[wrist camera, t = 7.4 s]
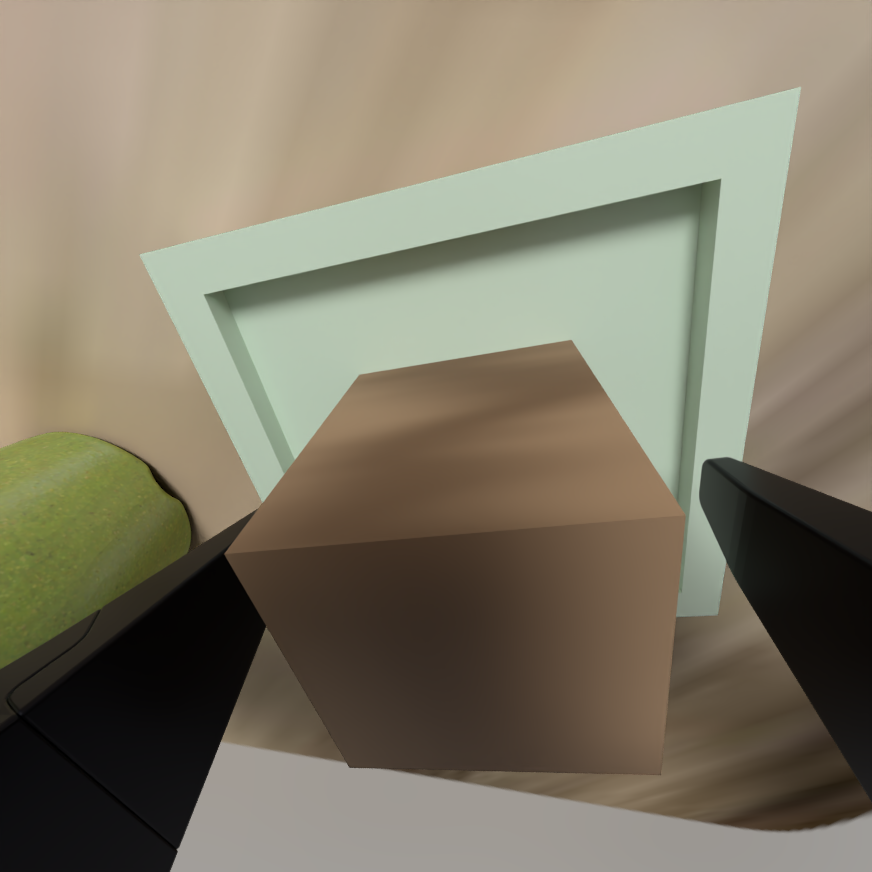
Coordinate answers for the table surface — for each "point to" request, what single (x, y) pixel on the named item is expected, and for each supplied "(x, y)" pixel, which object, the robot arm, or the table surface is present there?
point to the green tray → (514, 293)
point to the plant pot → (76, 534)
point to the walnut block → (475, 570)
